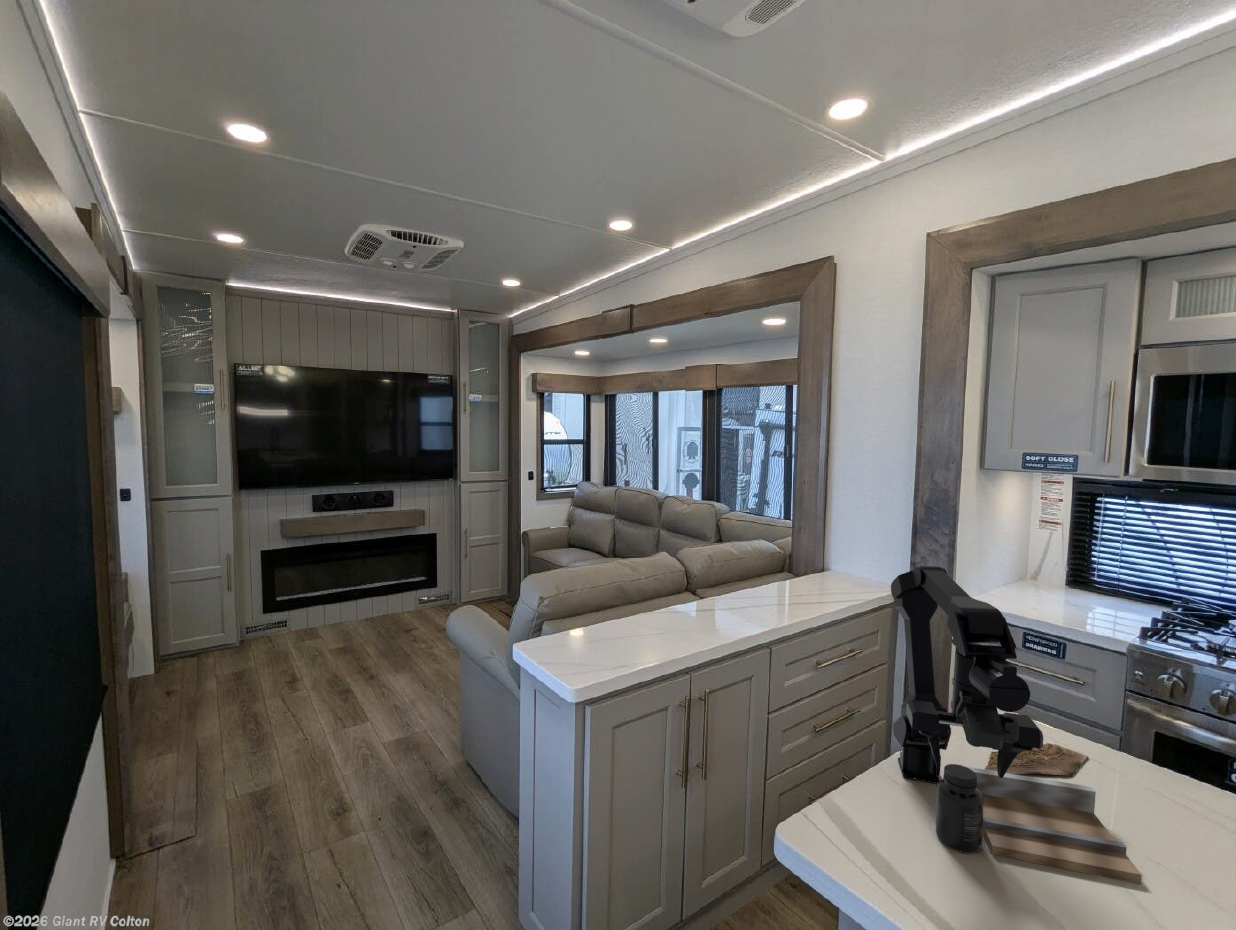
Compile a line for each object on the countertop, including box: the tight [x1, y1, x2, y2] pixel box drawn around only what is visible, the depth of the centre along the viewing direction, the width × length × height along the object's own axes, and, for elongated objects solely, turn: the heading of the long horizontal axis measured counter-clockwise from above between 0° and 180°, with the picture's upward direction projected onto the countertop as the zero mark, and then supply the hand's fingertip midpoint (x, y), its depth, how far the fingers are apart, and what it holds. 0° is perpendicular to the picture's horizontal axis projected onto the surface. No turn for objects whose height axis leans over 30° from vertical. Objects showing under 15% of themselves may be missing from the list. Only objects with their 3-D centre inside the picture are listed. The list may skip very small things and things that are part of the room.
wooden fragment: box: [984, 742, 1089, 777], centre depth 119 cm, size 26×11×1 cm, turn 100°
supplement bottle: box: [935, 763, 984, 854], centre depth 97 cm, size 7×7×12 cm
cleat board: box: [966, 766, 1142, 885], centre depth 98 cm, size 20×16×6 cm
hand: (968, 771), depth 96 cm, fingers open, 9 cm apart
